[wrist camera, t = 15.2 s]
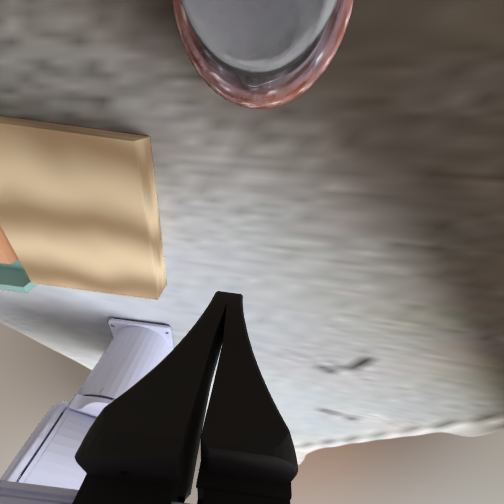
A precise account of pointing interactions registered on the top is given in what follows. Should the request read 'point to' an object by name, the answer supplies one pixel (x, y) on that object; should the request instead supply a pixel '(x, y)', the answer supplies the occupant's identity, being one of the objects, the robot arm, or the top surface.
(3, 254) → the tile
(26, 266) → the board
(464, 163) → the top surface
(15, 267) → the tray
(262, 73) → the supplement bottle
